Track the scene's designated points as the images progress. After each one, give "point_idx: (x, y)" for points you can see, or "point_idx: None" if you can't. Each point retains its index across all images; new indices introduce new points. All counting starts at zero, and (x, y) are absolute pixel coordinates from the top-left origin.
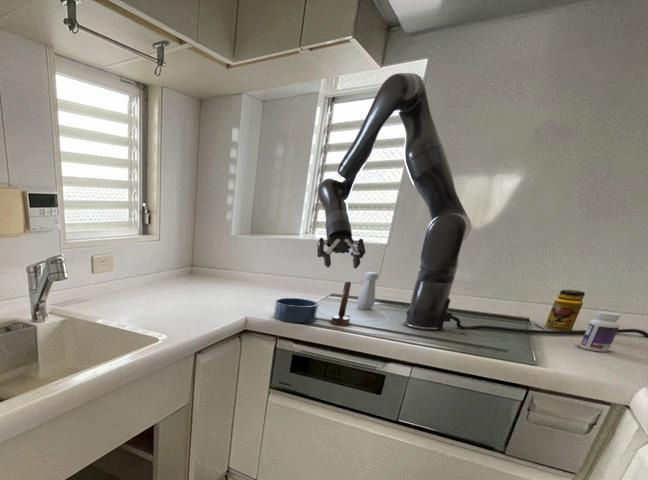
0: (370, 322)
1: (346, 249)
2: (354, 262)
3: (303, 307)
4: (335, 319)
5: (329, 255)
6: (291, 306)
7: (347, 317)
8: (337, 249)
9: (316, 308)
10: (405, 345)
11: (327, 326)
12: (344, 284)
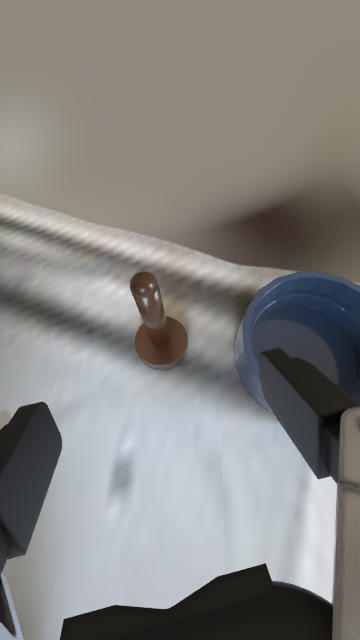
0: (65, 398)
1: (74, 618)
2: (38, 466)
3: (284, 277)
4: (178, 323)
5: (318, 405)
6: (323, 273)
7: (141, 346)
8: (253, 574)
9: (243, 320)
10: (55, 217)
11: (198, 301)
12: (158, 284)
